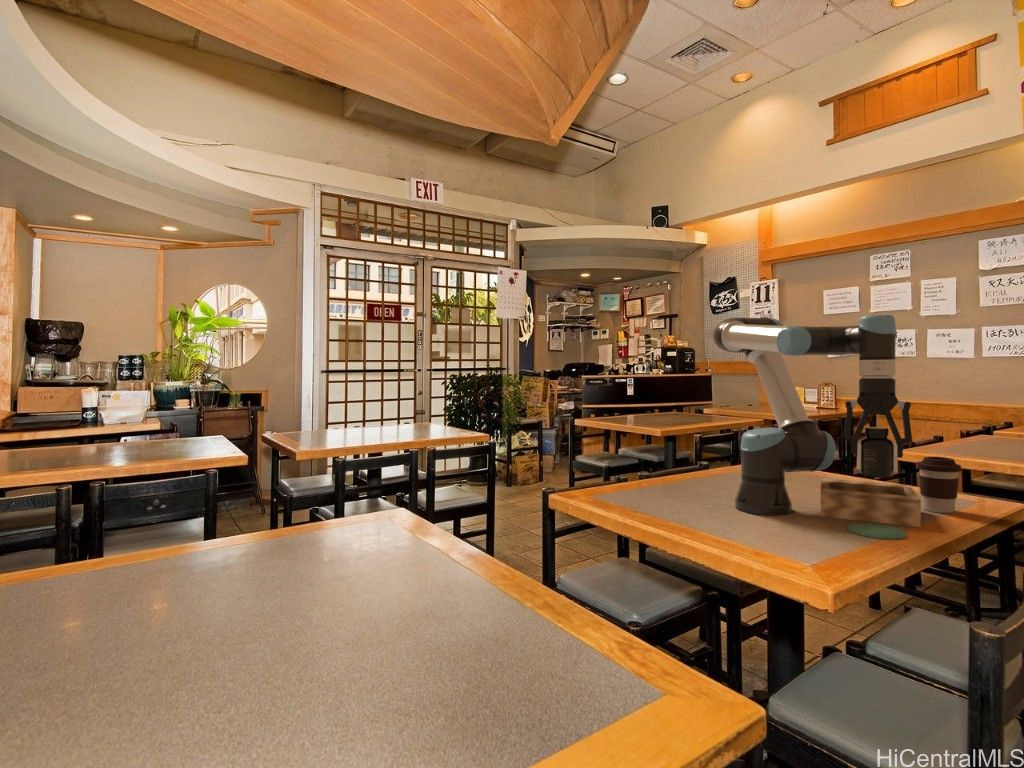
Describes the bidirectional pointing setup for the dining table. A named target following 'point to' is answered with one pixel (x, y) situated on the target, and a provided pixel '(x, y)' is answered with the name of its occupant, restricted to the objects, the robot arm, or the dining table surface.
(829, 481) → the cover box
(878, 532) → the mat
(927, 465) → the coffee cup
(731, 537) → the dining table surface
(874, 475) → the supplement bottle
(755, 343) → the robot arm
